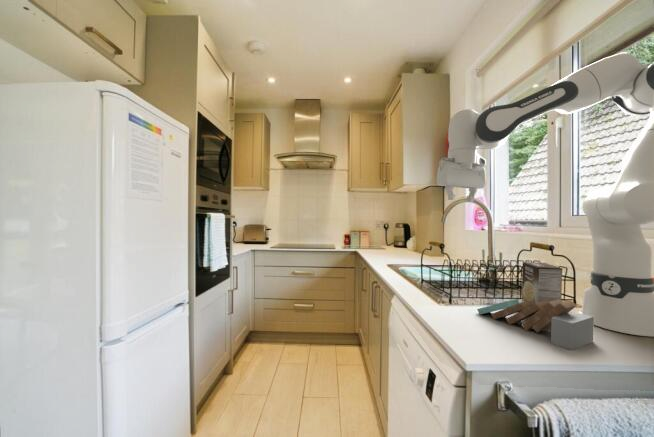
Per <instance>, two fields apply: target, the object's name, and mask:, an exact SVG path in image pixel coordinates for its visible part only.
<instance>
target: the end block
mask: <svg viewBox="0 0 654 437" xmlns="http://www.w3.org/2000/svg"><path fill="white" fill-rule="evenodd" d="M593 323H594V317H592V316H588V315H584V314H580V313H577V311H570V312H569V313H566V314H563V315H559V316H555V317H552V319H551V327H550V329H551V330H550V332H551V333H550V343H551V344H553V345H557V346H559V347H561V348H565V349H567V350H570V351H574V350H576V349H578V348H581V347H584V346H586V345H588V344H591V343H594V324H593Z"/></svg>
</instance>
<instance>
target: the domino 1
mask: <svg viewBox="0 0 654 437" xmlns="http://www.w3.org/2000/svg"><path fill="white" fill-rule="evenodd" d="M519 303H520V301H519V300H518V299H512V300H507V301H503V302H500V303H495V304H492V305H488V306H484V307H481V308H477V309H476V310H477V313H478V314H479V315H483V314H489V313H494V312H498V311H500V310H503V309H506V308H509V307H511V306H514V305H517V304H519Z"/></svg>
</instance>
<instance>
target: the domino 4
mask: <svg viewBox="0 0 654 437" xmlns="http://www.w3.org/2000/svg"><path fill="white" fill-rule="evenodd" d="M561 302H563V301H562V300H561V301H560V300H555V301H550V302H548V303H547V304H545V305H544V306H543V307H542V308H541V309H540V310H538V311H537V312H536V313H535V314H534V315H533V316H531V317H530V318H527V319H526V320H525V321H524V323H522V324H521V327H522V328H523V329H524V330H525V331H530V330H534V329H533V328H532V326H533V325H535V324H536V323H537V322H538V321H539V320H540V319H542V318H543V317H544V316H545V315H546V314H547V313H548V312H550V311H551V310H552V309H553V308H554V307H555V306H557V305H558V304H559V303H561Z"/></svg>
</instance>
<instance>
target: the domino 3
mask: <svg viewBox="0 0 654 437" xmlns="http://www.w3.org/2000/svg"><path fill="white" fill-rule="evenodd" d="M547 303H548V302H547V301H542V302H537V303H535V304H533V305H531V306H529V307H527V308H525V309H524V310H522V311H520V312H518V313H515V314H512V315H510V316H508V317H507V318H505V321H506V322H507V323H508V325H509V326H510V325H513V324H517V323H518V324H519V323H521V322H523V321H526V320H528V319H529V317H531V316H533V315H534V314H535V313H536V312H537V311H538V310H540V309H541V308H542V307H543V306H544V305H545V304H547Z"/></svg>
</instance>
